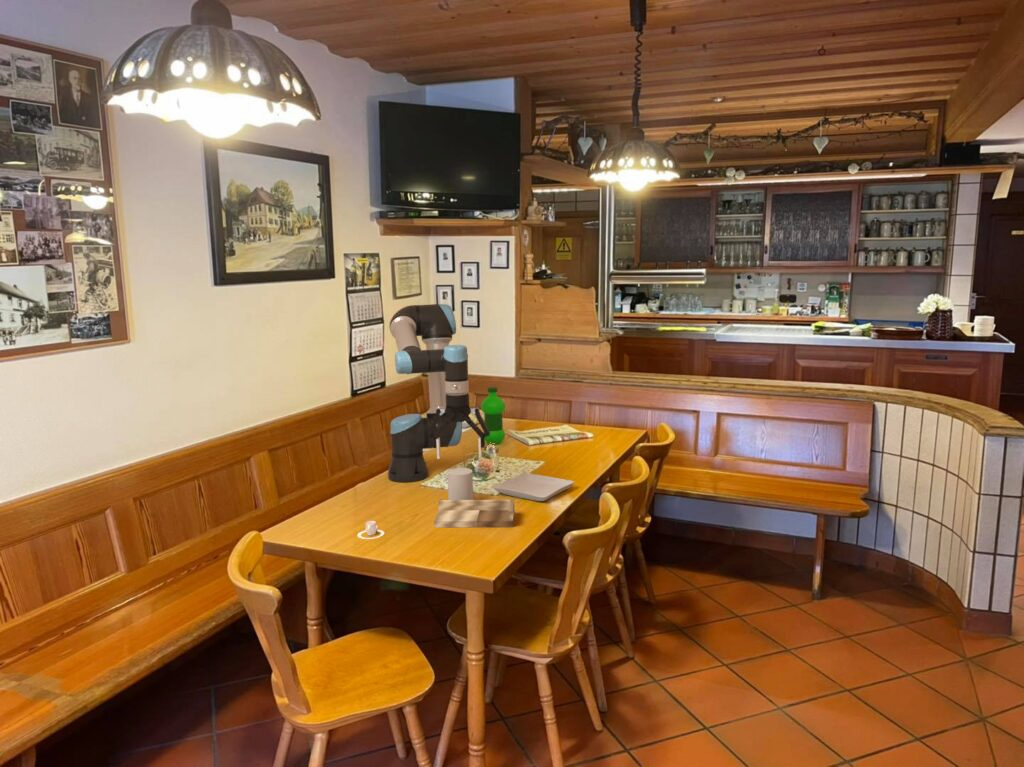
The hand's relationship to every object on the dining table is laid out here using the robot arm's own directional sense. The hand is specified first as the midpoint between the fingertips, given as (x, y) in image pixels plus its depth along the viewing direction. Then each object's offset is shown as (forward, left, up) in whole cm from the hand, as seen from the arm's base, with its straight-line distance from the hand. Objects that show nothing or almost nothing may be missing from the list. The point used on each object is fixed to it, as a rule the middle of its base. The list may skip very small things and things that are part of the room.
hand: (459, 457), depth 241 cm
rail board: (+6, -14, -17) cm, 22 cm away
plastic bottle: (+5, +86, -17) cm, 88 cm away
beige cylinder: (0, 0, -17) cm, 17 cm away
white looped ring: (-22, -23, -17) cm, 36 cm away
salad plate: (+24, +15, -17) cm, 33 cm away
